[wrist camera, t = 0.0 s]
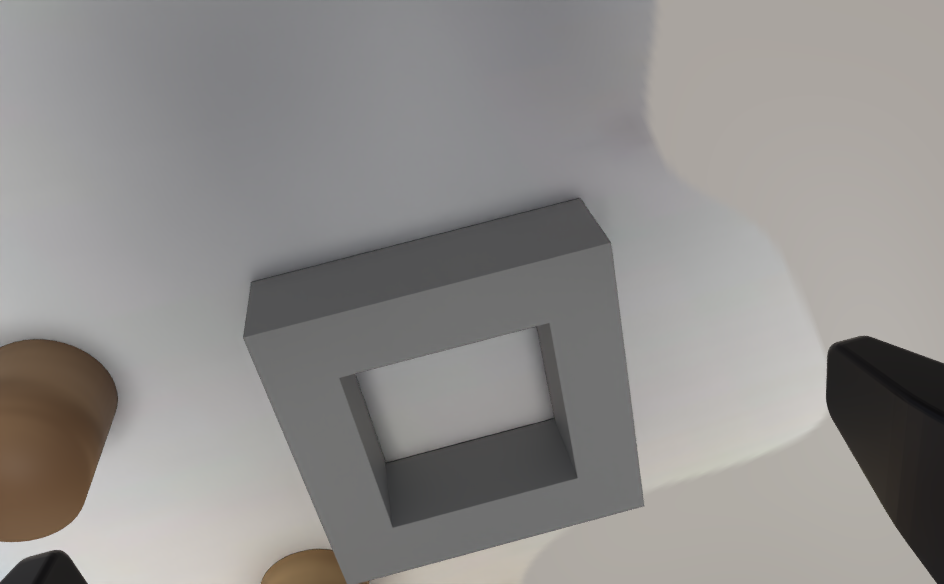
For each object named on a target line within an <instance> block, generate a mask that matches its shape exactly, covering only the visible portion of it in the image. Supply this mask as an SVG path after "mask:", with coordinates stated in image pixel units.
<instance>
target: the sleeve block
mask: <svg viewBox="0 0 944 584" xmlns="http://www.w3.org/2000/svg"><path fill="white" fill-rule="evenodd" d="M536 326H537V331H538V336H539V341H540V347H541V352H542V357H543V362H544V367H545V373H546V378H547V383H548V388H549V394H550V399H551V404H552V409H553V414H554V419H552V420H548V421H544V422H540V423H537V424H533V425H529V426H525V427H521V428H518V429H514V430H510V431H506V432H503V433H499V434H495V435H491V436H488V437H484V438H480V439H476V440H473V441H469V442H465V443H461V444H457V445H454V446H450V447H446V448H442V449H439V450H435V451H431V452H427V453H424V454H420V455H416V456H412V457H409V458H405V459H401V460H397V461H394V462H390V463H386V462H385V459H384V456H383V453H382V451H381V448H380V445H379V442H378V439H377V436H376V433H375V430H374V427H373V424H372V421H371V419H370V416H369V413H368V410H367V407H366V404H365V401H364V398H363V395H362V392H361V390H360V387H359V384H358V381H357V378H356V375H355V374H356V373H360V372H364V371H368V370H371V369H375V368H379V367H383V366H387V365H391V364H394V363H398V362H402V361H406V360H410V359H414V358H417V357H421V356H425V355H429V354H433V353H437V352H440V351H444V350H448V349H452V348H456V347H460V346H463V345H467V344H471V343H475V342H479V341H483V340H486V339H490V338H494V337H498V336H502V335H505V334H509V333H513V332H517V331H521V330H525V329H528V328H532V327H536ZM243 339H244V341H245V343H246V346H247V348H248V350H249V353H250V355H251V358H252V360H253V362H254V365H255V367H256V369H257V372H258V374H259V377H260V379H261V381H262V384H263V386H264V388H265V391H266V393H267V396H268V398H269V400H270V403H271V405H272V407H273V410H274V412H275V415H276V417H277V419H278V422H279V424H280V426H281V429H282V431H283V433H284V436H285V438H286V441H287V443H288V445H289V448H290V450H291V452H292V455H293V457H294V460H295V462H296V464H297V467H298V469H299V471H300V474H301V476H302V479H303V481H304V483H305V486H306V488H307V490H308V493H309V495H310V498H311V500H312V502H313V505H314V507H315V509H316V512H317V514H318V517H319V519H320V521H321V524H322V526H323V528H324V531H325V533H326V535H327V538H328V540H329V543H330V545H331V547H332V550H333V552H334V554H335V557H336V559H337V562H338V564H339V566H340V569H341V571H342V573H343V576H344V578H345V581H346V583H347V584H359V583H362V582H366V581H370V580H373V579H377V578H381V577H384V576H388V575H392V574H395V573H399V572H403V571H407V570H410V569H414V568H418V567H421V566H425V565H429V564H432V563H436V562H440V561H443V560H447V559H451V558H455V557H458V556H462V555H466V554H469V553H473V552H477V551H480V550H484V549H488V548H491V547H495V546H499V545H503V544H506V543H510V542H514V541H517V540H521V539H525V538H528V537H532V536H536V535H539V534H543V533H547V532H551V531H554V530H558V529H562V528H565V527H569V526H573V525H576V524H580V523H584V522H587V521H591V520H595V519H598V518H602V517H606V516H610V515H613V514H617V513H621V512H624V511H628V510H632V509H635V508H639V507H642V506H644V500H643V492H642V484H641V476H640V468H639V460H638V452H637V444H636V437H635V429H634V421H633V413H632V405H631V397H630V389H629V381H628V373H627V365H626V357H625V349H624V341H623V333H622V326H621V318H620V310H619V302H618V294H617V286H616V278H615V270H614V262H613V254H612V246H611V242H610V240H609V239H608V238H607V236H606V235H605V233H604V232H603V230H602V229H601V227H600V226H599V225H598V223H597V222H596V220H595V219H594V217H593V216H592V214H591V213H590V212H589V210H588V209H587V207H586V206H585V204H584V203H583V201H582V200H581V199H580V198H579V199H575V200H571V201H567V202H564V203H560V204H556V205H552V206H548V207H544V208H540V209H536V210H532V211H528V212H524V213H520V214H517V215H513V216H509V217H505V218H501V219H497V220H493V221H489V222H485V223H481V224H477V225H474V226H470V227H466V228H462V229H458V230H454V231H450V232H446V233H442V234H438V235H434V236H431V237H427V238H423V239H419V240H415V241H411V242H407V243H403V244H399V245H395V246H391V247H388V248H384V249H380V250H376V251H372V252H368V253H364V254H360V255H356V256H352V257H348V258H345V259H341V260H337V261H333V262H329V263H325V264H321V265H317V266H313V267H309V268H305V269H302V270H298V271H294V272H290V273H286V274H282V275H278V276H274V277H270V278H266V279H262V280H259V281H255V282H251V287H250V294H249V301H248V307H247V314H246V321H245V328H244V335H243Z"/></svg>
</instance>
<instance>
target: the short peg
mask: <svg viewBox="0 0 944 584" xmlns="http://www.w3.org/2000/svg"><path fill="white" fill-rule="evenodd" d="M117 402H118V396H117V390H116V386H115V383H114V381H113V379H112V377H111V376H110V374H109V372H108V371H107V370H106V369H105V368H104V366H103V365H102V364H101V363H100V362H98V361H97V360H96V359H95V358H94V357H92V356H91V355H89V354H88V353H86V352H84V351H83V350H81V349H78V348H76V347H74V346H71V345H68V344H65V343H62V342H57V341H52V340H44V339H32V340H23V341H17V342H13V343H10V344H7V345H5V346H3V347H0V541H1V542H21V541H30V540H35V539H39V538H43V537H46V536H49V535H51V534H53V533H56V532H58V531H59V530H61V529H63V528H64V527H66V526H67V525H68V524H70V523H71V522H72V521H73V520H74V519H75V518H76V517H77V515H78V514H79V512H80V511H81V509H82V507H83V505H84V503H85V500H86V497H87V494H88V491H89V488H90V485H91V482H92V479H93V476H94V473H95V471H96V468H97V465H98V462H99V459H100V456H101V453H102V450H103V447H104V444H105V441H106V439H107V436H108V433H109V430H110V427H111V424H112V421H113V418H114V415H115V412H116V409H117Z"/></svg>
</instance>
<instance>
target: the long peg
mask: <svg viewBox="0 0 944 584" xmlns="http://www.w3.org/2000/svg"><path fill="white" fill-rule="evenodd" d="M261 584H347V583H346V581H345V578H344V576H343V573H342V571H341V569H340V566H339V564H338V562H337V559H336V557H335V554H334V552H333V550H324V549H315V550H306V551H301V552H298V553H294V554H291V555H289V556H287V557H285V558H283V559H281V560H279V561H278V562H277V563H275V564H274V565H273V566H272V567H271V568H270V569H269V570H268V571H267V572H266V574H265V576H264V577H263V579H262V582H261ZM359 584H369V581H366V582H362V583H359Z"/></svg>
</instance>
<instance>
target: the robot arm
mask: <svg viewBox="0 0 944 584" xmlns="http://www.w3.org/2000/svg"><path fill="white" fill-rule="evenodd" d="M826 402H827V407H828V410H829V413H830V415H831V418H832V420H833V421H834V423H835V425H836V426H837V428H838V430H839V431H840V433H841V435H842V437H843V438H844V440H845V442H846V443H847V445H848V447H849V448H850V450H851V452H852V454H853V456H854V457H855V459H856V461H857V462H858V464H859V466H860V467H861V469H862V471H863V473H864V474H865V476H866V478H867V479H868V481H869V483H870V485H871V486H872V488H873V490H874V492H875V493H876V495H877V497H878V498H879V500H880V502H881V504H882V505H883V507H884V509H885V510H886V512H887V514H888V515H889V517H890V518H891V520H892V522H893V523H894V524H895V526H896V528H897V529H898V531H899V532H900V533H901V535H902V536H903V538H904V539H905V541H906V542H907V543H908V545H909V546H910V548H911V549H912V550H913V552H914V553H915V554H916V556H917V557H918V558H919V560H920V561H921V562H922V564H923V565H924V566H925V568H926V569H927V570H928V572H929V573H930V575H931V576H932V577H933V578H934V580H935V581H936V583H937V584H944V363H941V362H939V361H936V360H933V359H930V358H927V357H925V356H922V355H919V354H917V353H914V352H911V351H908V350H906V349H903V348H900V347H897V346H894V345H891V344H889V343H886V342H883V341H880V340H878V339H875V338H872V337H869V336H858V337H855V338H851V339H847V340H843V341H840V342H836V343H834V344H833V345H831V347H830V348H829V350H828V355H827V381H826ZM0 584H88V583H87V582H86V580H85V579H84V578H83V576H82V575H81V573H80V572H79V570H78V569H77V567H76V566H75V564H74V563H73V561H72V560H71V558H70V557H69V556H68V555H67V554H66V553H65V552H63V551H61V550H53V551H49V552H45V553H42V554H38V555H34V556H30V557H28V558H25V559H23V560H22V561H20V562H19V563H18V564H17V565H16V566H15V567H14V568H13V569H12V570H11V571H10V572H9V573H8V574H7V576H6V577H5V578H4V579H3V580H2V581H1V582H0Z"/></svg>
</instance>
